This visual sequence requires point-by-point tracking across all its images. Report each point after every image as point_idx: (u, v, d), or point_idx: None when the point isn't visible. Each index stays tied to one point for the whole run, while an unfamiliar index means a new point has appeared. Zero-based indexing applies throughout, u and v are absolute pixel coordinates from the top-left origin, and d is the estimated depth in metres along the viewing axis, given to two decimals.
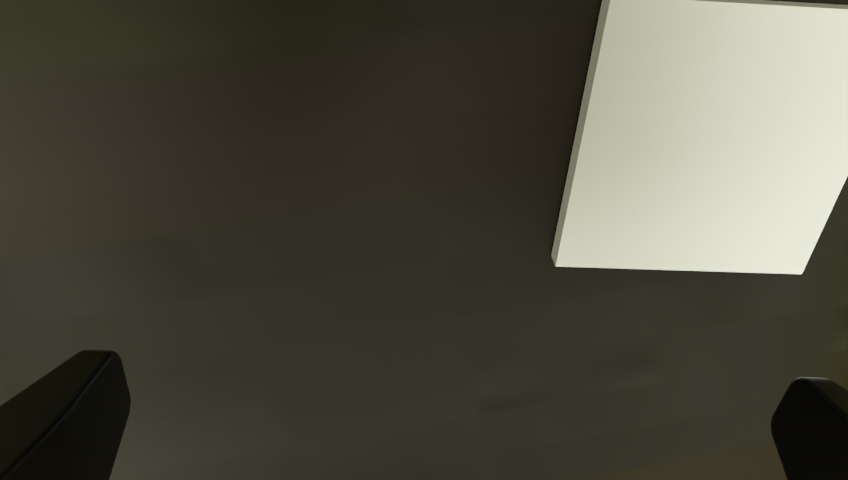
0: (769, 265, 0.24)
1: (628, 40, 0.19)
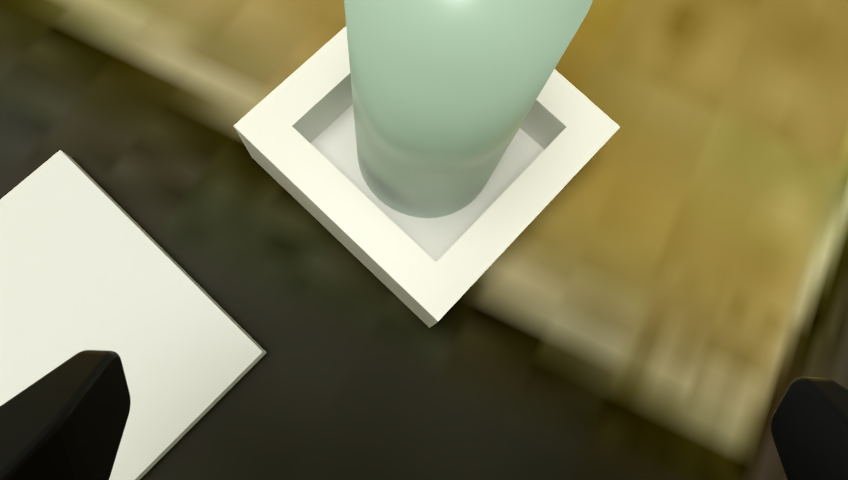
0: (222, 377, 0.20)
1: None
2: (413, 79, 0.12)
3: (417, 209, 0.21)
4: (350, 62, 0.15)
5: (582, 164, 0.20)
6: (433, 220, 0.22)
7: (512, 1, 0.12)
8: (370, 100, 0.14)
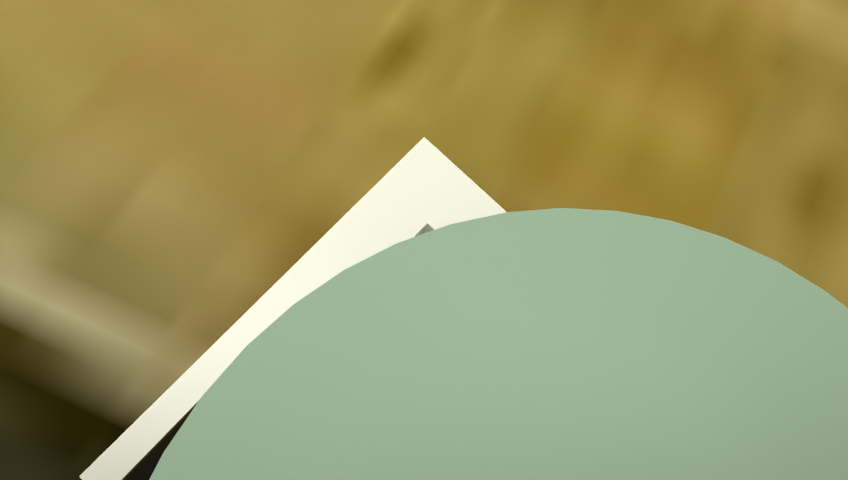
0: None
1: None
2: None
3: None
4: None
5: None
6: None
7: None
8: None
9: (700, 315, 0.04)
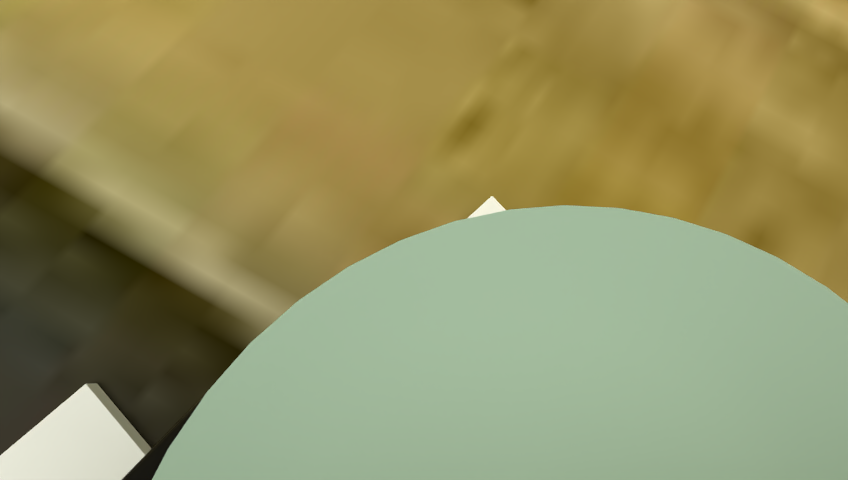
0: None
1: None
2: None
3: None
4: None
5: None
6: None
7: None
8: None
9: (703, 312, 0.04)
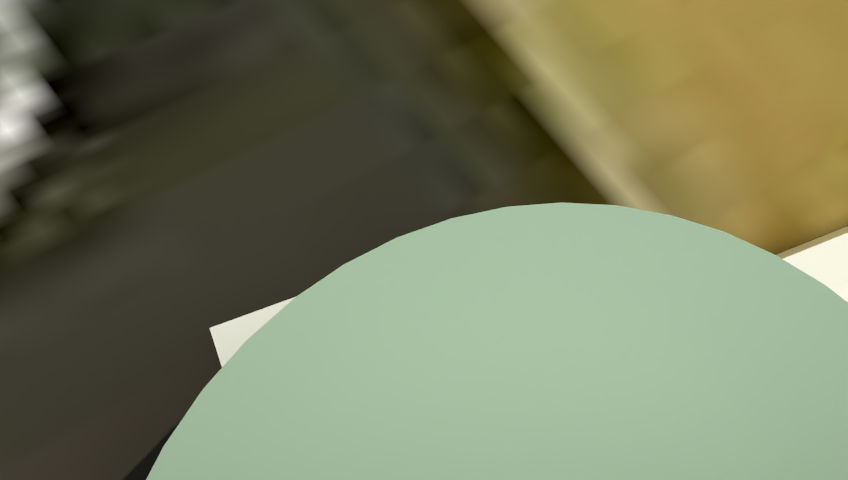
0: None
1: None
2: None
3: None
4: None
5: None
6: None
7: None
8: None
9: (700, 310, 0.03)
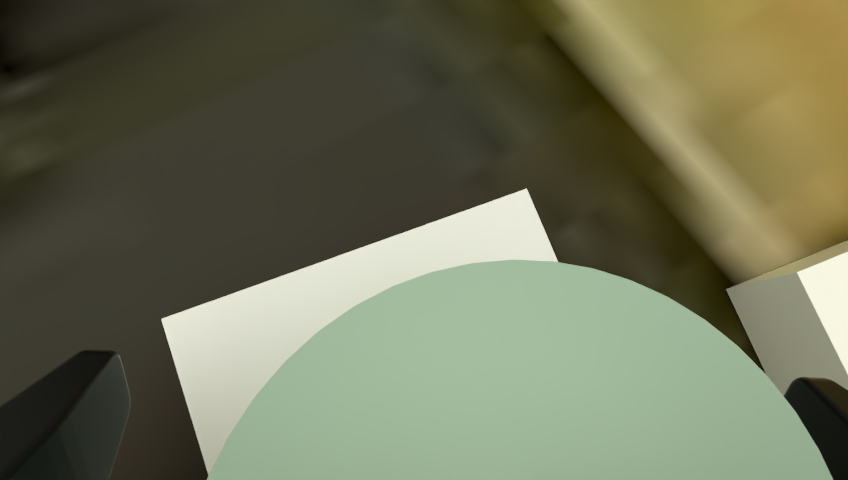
0: None
1: (209, 356, 0.15)
2: None
3: None
4: None
5: None
6: None
7: None
8: None
9: (612, 338, 0.05)
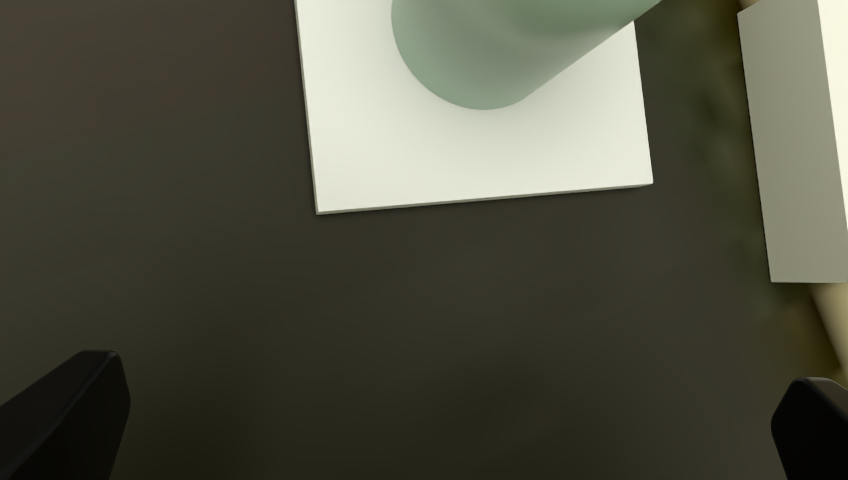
0: (607, 175, 0.18)
1: None
2: None
3: (457, 88, 0.16)
4: None
5: None
6: None
7: None
8: None
9: None
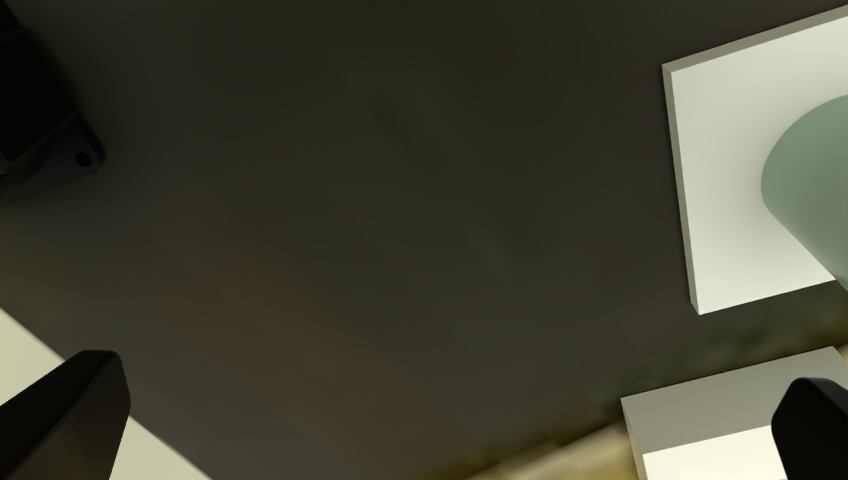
0: (705, 283, 0.23)
1: None
2: None
3: (787, 169, 0.19)
4: None
5: None
6: None
7: None
8: None
9: None
